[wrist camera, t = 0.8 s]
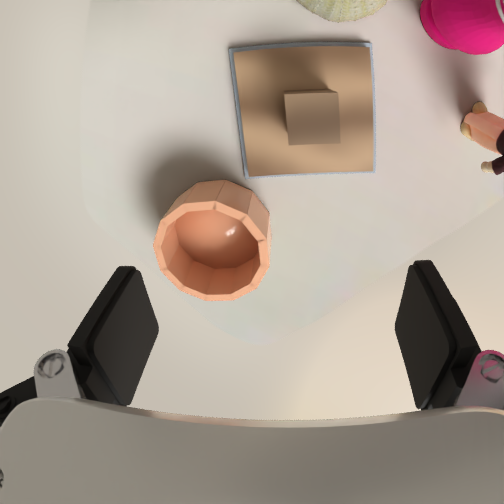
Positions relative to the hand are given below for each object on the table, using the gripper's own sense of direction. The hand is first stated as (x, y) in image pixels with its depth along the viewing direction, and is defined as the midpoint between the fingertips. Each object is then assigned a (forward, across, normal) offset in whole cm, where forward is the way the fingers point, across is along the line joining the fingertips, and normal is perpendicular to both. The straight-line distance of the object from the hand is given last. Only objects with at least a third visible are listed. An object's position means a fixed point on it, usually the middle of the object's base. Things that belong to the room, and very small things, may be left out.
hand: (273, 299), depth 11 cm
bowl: (+22, +7, +9) cm, 25 cm away
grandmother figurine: (+23, -21, -3) cm, 31 cm away
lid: (+22, -3, -3) cm, 23 cm away
